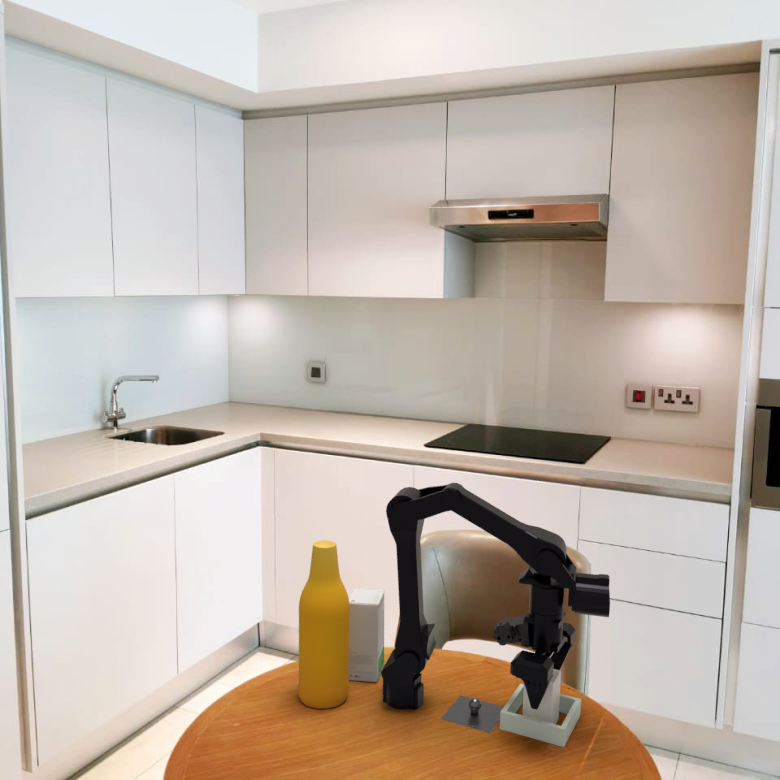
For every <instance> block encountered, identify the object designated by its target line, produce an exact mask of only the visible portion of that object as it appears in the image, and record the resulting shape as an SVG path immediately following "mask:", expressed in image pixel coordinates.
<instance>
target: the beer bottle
mask: <svg viewBox="0 0 780 780" xmlns="http://www.w3.org/2000/svg"><path fill="white" fill-rule="evenodd" d="M337 548H338V547H337V542H335V541H332V540H318V541H315V542H313V543H312V550H311V551H312V552H311V559H310V567H309V575H308V578H307V581H306V583H305V585H304V587H303V589H302V590H301V593H300V597H299V600H298V601H299V603H298V684H297V685H298V686H297V692H298V696H299V701H301V703H303V704H304V705H305V706H307V707H309V708H312V709H321V710H324V709H325V710H326V709H333V708H336V707H338V706H340V705H342V704H344V702H345V701H346V700H347V698H348V696H349V692H350V691H349V690H350V682H349V681H350V680H349V609H350V608H349V595H348V592H347V589H346V587H345V585H344V583H343V580H342V578H341V575H340V568H339V558H338V557H339V556H338V549H337Z"/></svg>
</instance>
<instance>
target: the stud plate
mask: <svg viewBox="0 0 780 780" xmlns="http://www.w3.org/2000/svg"><path fill="white" fill-rule="evenodd" d="M503 708H504V706H503V705H502V706H501V705H497V704H495V703H489V702H487V701H482V700H481V699H479V698H478V697H474V696H473V697H467V696H465V695H458V698H457V699H455V701H454V702H453V703H452V704H451V705H450V707H449V708H448V709H447V710H446V712H445V713H444V714H443V715H442V716H441V718H440V720H443V721H447V722H450V723H452V724H457V725H460V726H463V727H466V728H470V729H473V730H474V729H475V730H477V731H480V732H483V733H484V732H485V733H488V734H491V732H493V730H494V728H495V727H496V725H497V724H498V722H500V712H501V710H502V709H503Z"/></svg>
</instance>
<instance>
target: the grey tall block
mask: <svg viewBox="0 0 780 780" xmlns="http://www.w3.org/2000/svg"><path fill="white" fill-rule="evenodd" d="M552 675H553V677H552V679H551V681H550V684H549V686H548V688H547V690H546V692H545V694H544V697H543V699H542V701H541V703H540V705H539V707H538V709H537V710H536V709H532V708H531V706H530V702H529V698H528V694H527V691H526V687H525V684H524V683H523V684H524V691H523V703H522V715H523V716H526V717H530V718H534V719H537V720H541V721H545V722H549V723H552V724H556V725H557V723H558V721H559V719H560V712H559V703H560V694H561V680H562V679H561V678H562V670H561V669H560V670H556V669H553V673H552Z"/></svg>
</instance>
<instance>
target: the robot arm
mask: <svg viewBox="0 0 780 780" xmlns="http://www.w3.org/2000/svg"><path fill="white" fill-rule="evenodd" d="M450 511H451V512H453V513H455V514H456V515H457V516H460V517H461V518H463V519H464V520H466V521H468V522H469V523H471V524H472V525H474V526H476V527H478V528H479V529H481V530H483V531H485V533H488V534H489V535H491V536H492V537H494V538H496V539H498V540H499V541H501V542H503V543H504V544H506V545H508V546H509V547H510V548H511V549H513V551H515V553H516V554H517V555H518V556H519V558H521V560H522V561H523V562H525V563H526V565H528V567H527V568H526V570H523V571H522V572H521V573H520V574H519V578H518V583H519V584H521V585H522V584H523V585H529V599H528V600H529V601H528V602H529V603H528V604H529V606H528V612H527V614H526V615H518V616H511V617H505V618H502V619H500V620H499V621H498V622H497V623H496V625H494V628H493V633H494V634H493V636H492V637H493V639H494V640H495V641H496V642H497V643H498V645H499V646H506V645H508V644H515V643H521V647H525V648H531V650H534V651H535V652H532V651H528V650H521V651H519V652H518V653H517V654H516V655H515V656H514V657H513V659H512V660H511V662H510V668H509V669H510V671H509V672H510V675H512V676H514V677H515V678H517V679H520V680H521V681H522V682H523V684H525V687H526V691H527V694H528V698H529V702H530V706H531V708H532V709H536V710H537V709H538V707H539V705H540V703H541V701H542V699H543V697H544V694H545V692H546V690H547V688H548V686H549V684H550V681H551V679H552V677H553V675H552V673H553V669H556V670H560V671H561V669H562V667H563V665H564V663H565V661H566V659H567V657H568V655H569V653H570V651H571V649H572V647H573V644H574V641H575V640H576V628H575V627H574V626H573V624H571V623H570V622H569V623H568V622H566V620H567V613H566V612H564V608H565V607H564V606H565V605H564V604H565V591H566V589H568V596H567V597H568V598H567V607H569V608H570V607H571V609H570V610H571V612H574V614H575V615H576V614H577V615H583V616H584V615H586V616H593V617H594V616H595V617H603V618H610V610H611V597H610V596H611V594H610V575H609V574H604V573H599V574H593V573H583V572H577V571H578V568H577V566H576V565H575V563H574V562H573V560H572V559H571V558H570V556H569V555H568V553H567V549H568V548H567V544H566V542H565V540H564V539H563V537H562V536H561V535H559V534H557V533H555V532H553V531H550V530H548V529H544V528H542V527H540V526H536V525H531V524H527V523H524V522H522V521H520V520H518V519H517V518H515V517H513V516H511V515H510V514H508V513H507V512H504V511H503V510H502V509H500V508H498V507H496V506H495V505H493V504H492V503H489V502H488V501H486V500H485V499H483V498H481V497H479V496H477V495H476V494H475V493H473V492H471V491H469V490H468V489H466V488H465V487H464V486H463V485H462V484H461V483H457V482H451V483H448V484H444V485H436V486H434V485H433V486H427V487H423V488H416V487H413V486H408V487H404V488H402V489H399V490H398V492H397V493H396V494H395V495H394V496H393V497H392V498H391V499H390V500H389V501H388V503H387V504H386V508H385V515H386V518H387V523H388V527H389V531H390V534H391V536H392V538H393V540H394V542H395V547H396V565H397V584H398V585H397V587H398V588H397V589H398V604H399V608H398V609H399V625H398V629H397V630H398V631H397V634H396V639H395V645H394V648H393V650H392V651H391V652H390V654H389V656H388V658H387V660H386V662H385V663H384V666H383V669H382V671H381V675H380V676H381V677H382V702H384V703H386V705H388V707H390V708H392V709H395V710H402V711H404V710H412V711H413V710H416V711H417V710H419V709H420V708H421V707H422V705H423V704H424V696H425V695H424V691H425V690H424V689H425V687H424V686H425V684H424V682H422V677H423V676H422V672H423V671H424V670H425V667H426V665H427V663H428V661H430V659H431V657H432V656H433V653H434V650H435V647H436V645H437V641H436V639H435V638H436V637H435V629H436V624H435V623H428V622H427V619H426V617H425V614H424V611H425V610H424V592H423V591H424V589H423V572H422V571H423V570H422V569H423V568H422V551H421V549H422V547H421V539H422V533H423V527H424V523H425V519H428V518H431V517H434V516H437V515H439V514H442V513H446V512H450ZM566 638H567V639H566Z"/></svg>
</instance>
